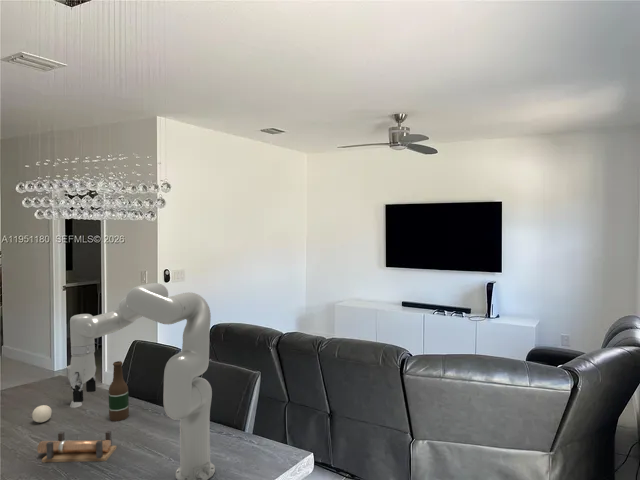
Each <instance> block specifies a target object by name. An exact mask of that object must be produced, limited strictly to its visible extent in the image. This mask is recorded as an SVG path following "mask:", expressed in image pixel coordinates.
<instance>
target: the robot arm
mask: <svg viewBox="0 0 640 480" xmlns="http://www.w3.org/2000/svg"><path fill="white" fill-rule="evenodd" d="M210 309H211V308H210V306H209V304H208V302H207V301H206V299H205V298H204V297H203V296H202V295H200V294H198V293H195V292H182V293H179V294H175V295H172V296H169V291H168V289H167V287H166V286H165V285H163V284H161V283H158V282H151V283H147V284H141V285H137V286H134V287H133V288H131V289H130V290H129V291H128V292H127V294H126V296H125V297H123V298H122V299H121V300H120V301H119V303H118V308H116V309H113V310H112V311H109V312H105V313H100V314H97V315H92V314H90V313H80V314H74V315H73V316H71V317H70V320H69V328H70V329H69V330H70V331H69V332H70V333H69V335H70V336H69V337H70V353H71V354H70V355H71V358H70V381H69V384H70V386H71V387H70V388H71V392H72V401H73V402H81V403H83V402H84V390H83V387H84V384H85V391H86V393H92V392H93V393H95V392H96V390H97V389H96V379H97V378H96V375H97V366H96V358H95V352H96V347H95V346H96V345H95V344H96V343H95V339H99V338H100V337H104V336H106V335H109V334H113V333H116V332H118V331H120V330H123V329H124V328H126V327H128V326H130V325H131V324H133V323H135V322H136V321H137V320H138V319H140V318H142V317H144V318H146V319H148V320H152V321H154V322H156V323H158V324H161V325H162V324H163V325H168V326H169V325H174V324H176V323H177V324H178V323H179V322H182V321H185V320H186V323H185V326H184V329H183V332H182V344H181V345H182V346H181V351H180V352H178V353H176V354H174V355H173V356H171V357H170V358H169V359H168V361H167V362H166V363H165V367H164V369H163V370H164V372H163V396H162V397H163V398H162V399H163V408H164V412H165V413H166V415H167V416H168V417H169V418H170V419H172V420H175V421H179V459H180V460H179V462H180V464H179V465H180V466H178V468H177V469H176V471H175V479H176V480H209V479H211V478H212V477H213V475H214V474H215V472H216V467H215V464H213V463H212V462H211V439H210V438H211V436H210V435H211V432H210V431H211V430H210V429H211V425H210V424H211V421H210V420H211V417H210V416H211V406H212V399H213V398H212V396H213V391H212V390H213V389H212V386H211V383H210V382H209V381H208V380H207V379H205V378H204V377H200V376H202V375H203V374H204V373H205V372H207V370H208V369H209V368H208V367H209V364H210V363H209V361H210V331H211V329H210V328H211V320H212V319H211V317H212V316H211V310H210ZM77 381H81V382H77ZM77 384H79V385H77Z"/></svg>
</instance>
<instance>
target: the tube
mask: <svg viewBox="0 0 640 480" xmlns="http://www.w3.org/2000/svg"><path fill="white" fill-rule="evenodd" d="M97 441H102V446H103V452H109V451H110V448H111V441H110V440H106V439H101V440H100V439H98V440H97V439H93V440H92V439H91V440H87V439H85V440H71V441H68V440H65V441H58V440H42V441H40V442H39V443H38V445H37V449H36V451H37V454H47V445H46V444H47V443H48V442H53V451H54V453H94V452H96V443H97Z"/></svg>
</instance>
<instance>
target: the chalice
mask: <svg viewBox="0 0 640 480" xmlns="http://www.w3.org/2000/svg"><path fill="white" fill-rule="evenodd" d="M70 365H71V364H70ZM70 365H68V366H67V365H66V369H67V379H68V382H70ZM77 382H81V381H77ZM77 385H78V386H80V384H77ZM82 405H83V402H73V400H72V401H71V403H70V405H69V407H70V408H78V407H81V406H82Z"/></svg>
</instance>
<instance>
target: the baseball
mask: <svg viewBox="0 0 640 480" xmlns="http://www.w3.org/2000/svg"><path fill="white" fill-rule="evenodd" d="M52 411H53V410H52V408H51V407H50V406H48V405H46V404H45V405H44V404H43V405H38V406H37V407H35V408H34V410H33V411H32V413H31V417H32V420H33V421H34V422H36V423H45V422H47V421H49V419H50V418H51V416H52Z"/></svg>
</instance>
